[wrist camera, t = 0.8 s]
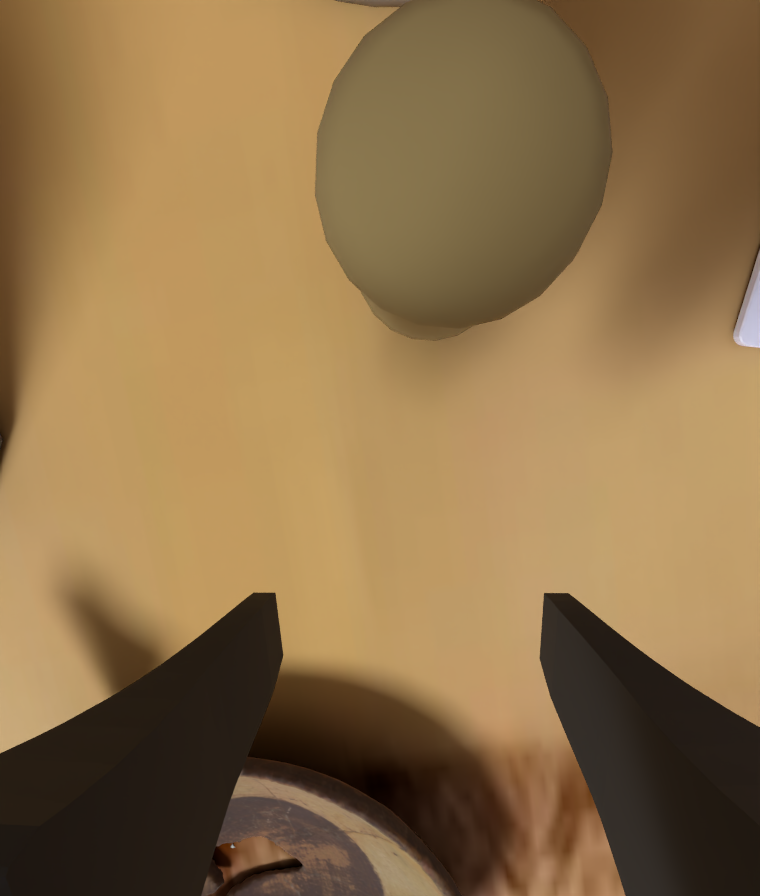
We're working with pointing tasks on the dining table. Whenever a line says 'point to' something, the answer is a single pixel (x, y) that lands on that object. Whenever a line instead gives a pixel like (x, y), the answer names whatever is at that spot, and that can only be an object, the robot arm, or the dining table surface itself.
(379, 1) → the ring platter
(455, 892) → the oil lamp
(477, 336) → the dining table surface
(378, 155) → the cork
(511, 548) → the dining table surface
